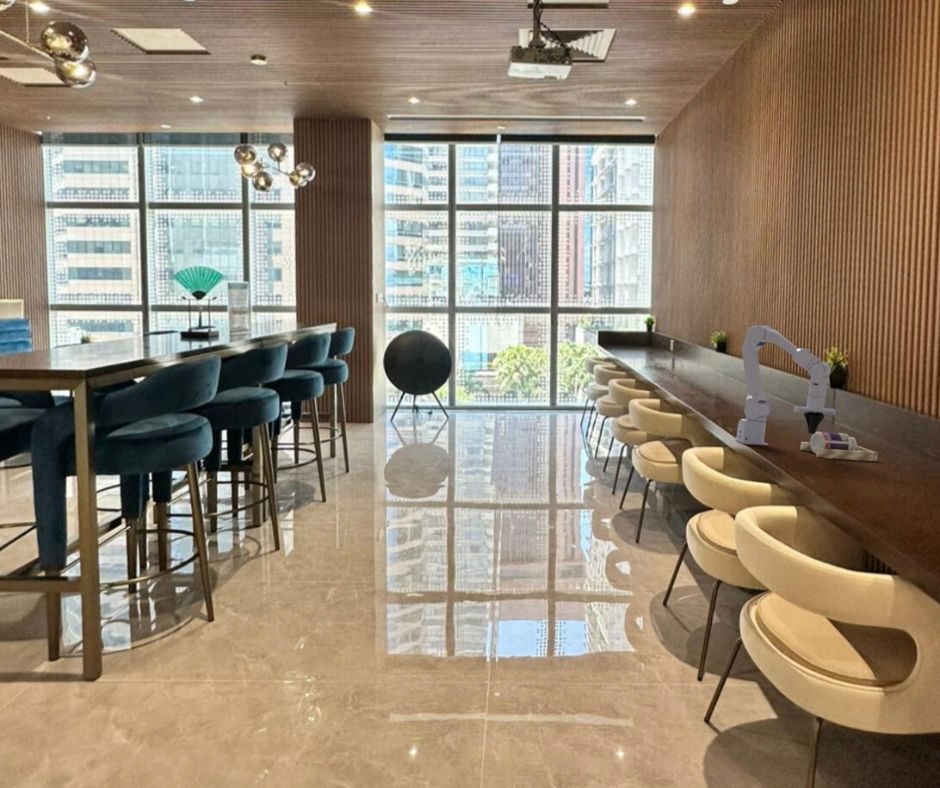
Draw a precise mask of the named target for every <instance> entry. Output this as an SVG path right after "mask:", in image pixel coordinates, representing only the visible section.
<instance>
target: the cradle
mask: <svg viewBox="0 0 940 788" xmlns="http://www.w3.org/2000/svg"><path fill="white" fill-rule="evenodd" d="M801 450H804V452H813V451H812V450H811V447H810V441H809V442H808V441H800V448H799V451H801ZM878 455H879V453H878V452H877V451H874V450H871V449H868V448H865V447H863V446H859V445H857V447H856V450H855V451H852V450H836V449H820V448H817V453H816V455H815V457H816V458H818V457H821V458H820V459H833V458H835V459H836V460H837V459H839V460H853V461H868V462H877V461H878ZM822 457H823V458H822Z"/></svg>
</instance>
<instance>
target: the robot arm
mask: <svg viewBox="0 0 940 788" xmlns="http://www.w3.org/2000/svg"><path fill="white" fill-rule="evenodd" d="M767 343H768V344H769V343H770V344H775V345H776V346H778V347H779V348H781V349H782V350H783V351H785V352H786V353H787V354H790V355H791V356H792V360H793V362H795V363H796V364H797V365H798V366H800V368H802V369H804V370H805V371H806V372H808V374H809V376H810V379H809V385H808V393H807V400H806V406H794V407H793V413H803V415H804V417H805V421H806V424H807V430H808V434H811V435H813V434H815V432H817V429H818V427H819V425H820V423H821V422H822V421H823V420H824V418H825V415H832V416H836V411H837V409H835V408H826V407H825V404H826V403H825V401H826V396H827V388H828V387H827V386H828V380H829V379H828V378H829V376H830V375H831V373H832V368H831V365H830V364H829V363H828V362H827V361H822V358H820V357H817V356H816V355H814V354H813V353H811V352H812V351H811V350H810V349H809V348H799V347H797V345H795V344H794V343H793V342H792V341H790V340H789V339H787V338H786V337H785V336H784V335H782V333H780V332H779V331H778V330H776V329H773V327H771V326H769V325H759V324H755V325H752V326H751V327H750V328H749V329H748V330H747V331H746V332H745V338H744V341H743V344H742V347H741V354H742V361H743V362H742V363H743V369H744V375H745V382H746V383H745V384H746V390H747V391H746V392H747V396H746V398H745V406H744V409H743V410H744V415H745V416H746V418H744V419H743V418H741V419H739V421H738V423H737V430H736V437H735V441H737V442H739V443H741V444H743V445H757V446H758V445H759V446H769V444H768V443H766V442H765V436H766V435H765V434H766V427H767V417H769V415H770V413H771V407H770V404H768V401H767V397H766V396H765V394H764V391H763V385H762V384H763V383H762V378H761V377H762V376H761V370H760V364H759V356H758V355H759V354H758V352H759V350H760V349H761V348H762V347H763V346H764V345H766V344H767Z"/></svg>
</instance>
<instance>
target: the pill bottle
mask: <svg viewBox="0 0 940 788" xmlns="http://www.w3.org/2000/svg"><path fill="white" fill-rule="evenodd" d="M810 437H811V438H810V441H809V442H810V447H811V450H812V451H811V452H813V453H814V454H816V453H817V448H820V449H836V450H852V451H855V450H856V447H857V446H858V444H857V440H856V438H855V437H852V436H849V434H847V433H844V432H831V431H830V432H827V431H816V432H815V434H811V436H810Z"/></svg>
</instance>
